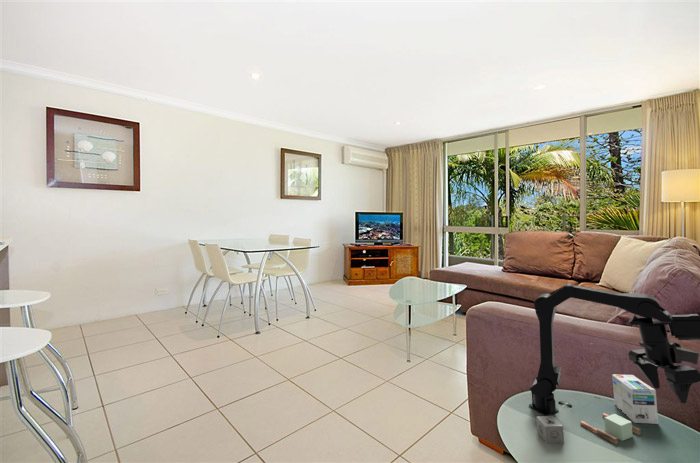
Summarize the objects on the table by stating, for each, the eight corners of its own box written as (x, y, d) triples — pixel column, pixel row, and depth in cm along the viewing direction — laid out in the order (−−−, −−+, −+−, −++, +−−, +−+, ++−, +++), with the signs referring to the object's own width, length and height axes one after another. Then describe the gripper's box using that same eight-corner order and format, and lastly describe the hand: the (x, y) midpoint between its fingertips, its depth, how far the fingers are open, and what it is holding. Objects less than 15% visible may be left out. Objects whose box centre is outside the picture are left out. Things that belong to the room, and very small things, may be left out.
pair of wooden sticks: (580, 424, 100) (580, 420, 100) (604, 416, 104) (604, 411, 104) (615, 444, 91) (615, 439, 91) (640, 434, 94) (640, 429, 94)
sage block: (605, 432, 96) (604, 417, 96) (615, 428, 98) (614, 413, 98) (622, 441, 92) (621, 425, 92) (632, 437, 93) (631, 421, 93)
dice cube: (546, 443, 93) (545, 426, 93) (537, 432, 98) (536, 416, 98) (564, 443, 93) (562, 426, 93) (554, 432, 98) (553, 416, 98)
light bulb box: (659, 424, 98) (657, 389, 98) (634, 423, 99) (631, 389, 99) (635, 405, 108) (633, 374, 108) (613, 404, 110) (611, 373, 110)
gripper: (719, 345, 80) (737, 408, 79) (661, 327, 98) (675, 378, 97) (669, 350, 82) (685, 413, 81) (621, 332, 100) (634, 383, 99)
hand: (669, 395), depth 89 cm, fingers open, 9 cm apart
